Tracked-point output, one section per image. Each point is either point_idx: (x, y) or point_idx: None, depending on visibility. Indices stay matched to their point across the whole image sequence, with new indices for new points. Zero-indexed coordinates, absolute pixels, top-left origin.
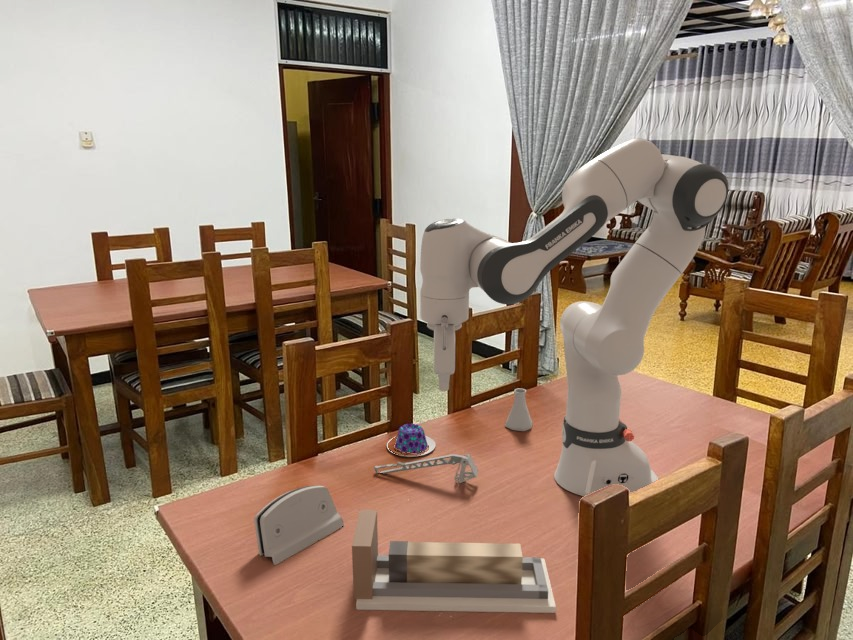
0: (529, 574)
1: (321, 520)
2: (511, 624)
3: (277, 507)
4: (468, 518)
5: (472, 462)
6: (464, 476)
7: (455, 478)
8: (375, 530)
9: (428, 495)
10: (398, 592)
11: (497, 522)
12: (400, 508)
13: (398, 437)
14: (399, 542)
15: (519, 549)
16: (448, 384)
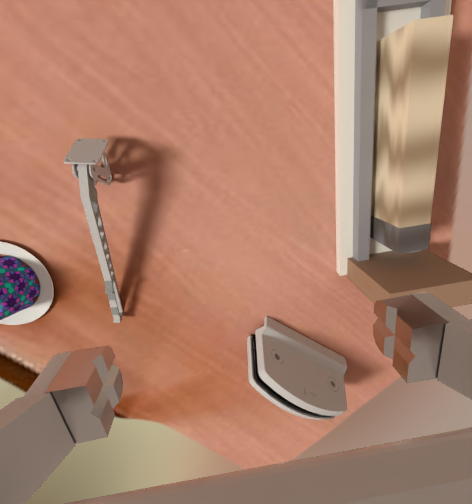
0: (379, 20)
1: (283, 346)
2: (459, 56)
3: (331, 408)
4: (220, 144)
5: (79, 151)
6: (105, 165)
7: (109, 183)
8: (406, 280)
9: (166, 222)
10: None
11: (223, 88)
12: (212, 256)
13: (12, 314)
14: (402, 240)
15: (431, 21)
16: (454, 310)
